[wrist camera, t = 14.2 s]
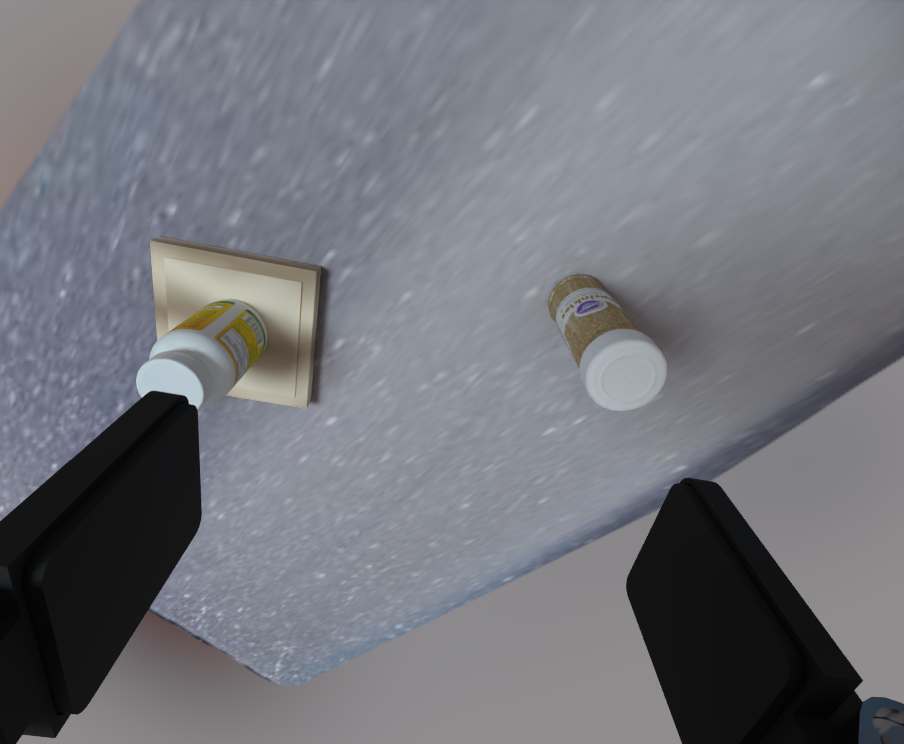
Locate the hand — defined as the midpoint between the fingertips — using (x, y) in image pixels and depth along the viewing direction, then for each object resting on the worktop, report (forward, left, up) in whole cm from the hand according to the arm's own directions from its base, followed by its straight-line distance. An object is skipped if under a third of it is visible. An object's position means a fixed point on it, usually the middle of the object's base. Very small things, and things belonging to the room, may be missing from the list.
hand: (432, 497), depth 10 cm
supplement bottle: (+11, -15, -29) cm, 34 cm away
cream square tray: (+11, -15, -30) cm, 36 cm away
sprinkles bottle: (+4, +11, -31) cm, 33 cm away
